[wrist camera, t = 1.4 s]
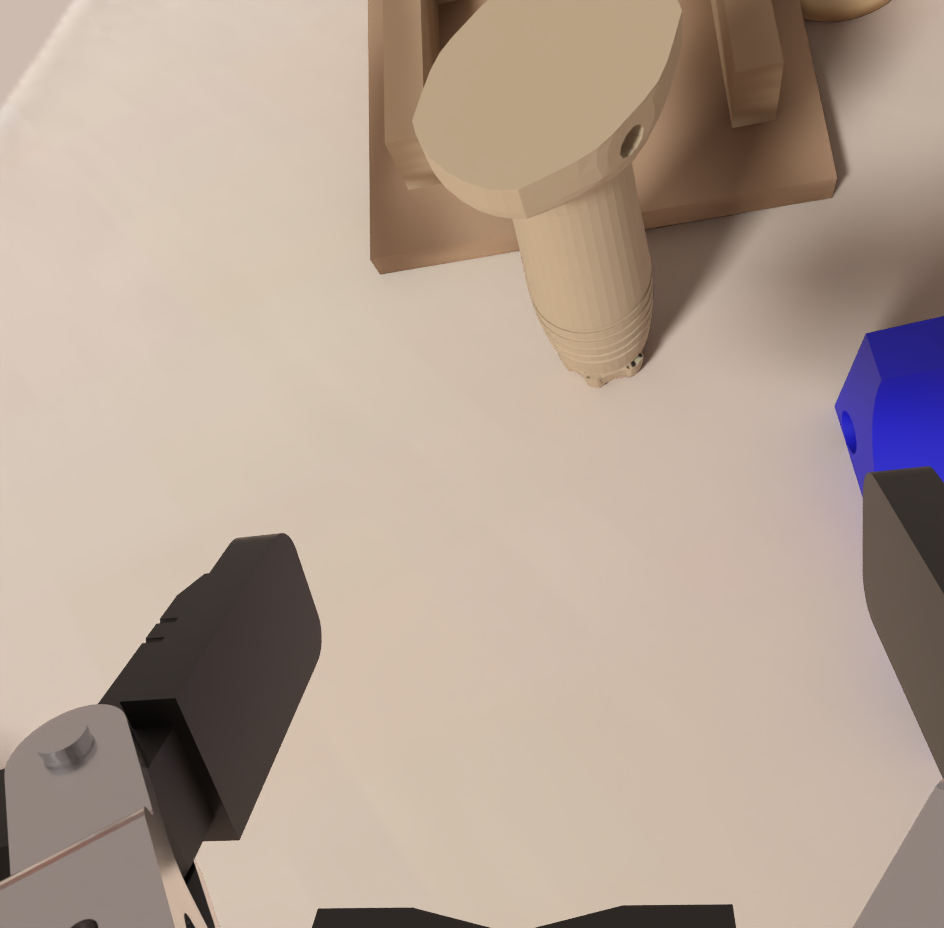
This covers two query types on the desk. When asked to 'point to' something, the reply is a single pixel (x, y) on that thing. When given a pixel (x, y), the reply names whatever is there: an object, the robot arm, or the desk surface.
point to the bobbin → (838, 9)
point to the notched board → (657, 164)
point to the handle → (560, 155)
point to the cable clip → (896, 400)
